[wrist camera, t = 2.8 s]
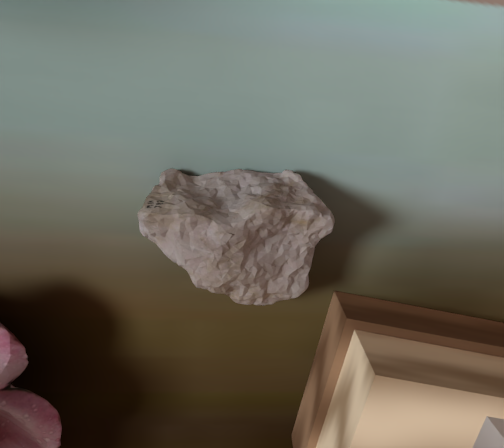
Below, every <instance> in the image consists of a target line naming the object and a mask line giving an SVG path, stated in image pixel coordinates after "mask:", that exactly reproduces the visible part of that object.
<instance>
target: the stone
mask: <svg viewBox="0 0 504 448" xmlns="http://www.w3.org/2000/svg"><path fill="white" fill-rule="evenodd" d="M159 180H160V183H159V184H158V185H155V186H154V188H153V189H152V191H151V193H150V194H149V195H148V196H147V197H146V200H145V202H144V205H143V207H142V208H141V209H140V210H139V212H138V214H137V215H138V218H139V226H140V232H141V233H142V235H143V236H145V237H147V238H148V239H149V240H150V241H152V242H154V243H156V244H157V246H158V247H159V248H160V249H161V250H162V251H163V253H164V254H165V255H166V256H167V257H168V258H169V259H171V260H172V261H173V262H175V263H177V264H178V265H179V266H181V267H183V268H184V269H186V270H187V272H188V273H189V275H190V277H191V280H192V282H193V283H194V285H195V286H196V287H198V288H203V289H208V290H209V291H211V292H212V293H219V294H226V295H228V296H229V297H230V298H231V299H232V300H233V301H234V302H236V303H239V304H246V305H250V304H255V305H263V306H264V305H267V304H273V303H275V302H277V301H281V300H288V299H290V298H296V297H299V296H300V295H301V294H302V293H303V292H304V291H305V290H306V289H307V288H308V285H309V276H308V273H309V270H310V268H311V264H312V259H313V255H314V251H315V245H316V244H317V243H318V242H319V241H320V239H321V238H324V237H325V236H326V235H328V234H330V233H331V232H332V230H333V226H334V223H335V218H334V216H333V214H332V212H331V211H330V210H329V209H328V208H327V206H326V205H325V204H324V203H323V202H322V200H321V199H320V198H319V197H318V196H316V195H315V194H314V192H313V190H312V189H311V188H309V187H308V186H307V183H306V182H304V181H303V179H302V177H301V176H300V175H299V174H297V173H294V172H293V171H291V170H284V171H283V172H282V173H263V172H256V171H249V170H242V169H236V170H230V171H226V172H214V173H208V174H204V175H200V176H188V175H186V174H183V173H182V172H181V171H179V170H176V169H168V170H166V171H164V172H162V173H161V175H160V179H159Z"/></svg>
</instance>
